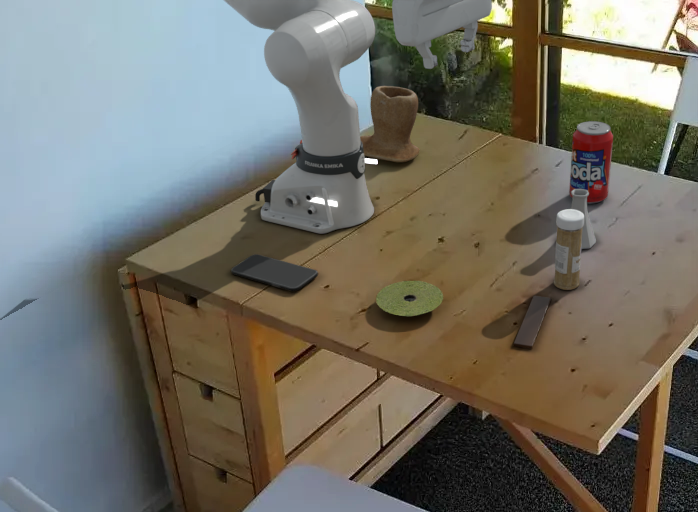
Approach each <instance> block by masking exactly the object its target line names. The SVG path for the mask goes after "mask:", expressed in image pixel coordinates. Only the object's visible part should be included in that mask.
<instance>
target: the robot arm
mask: <svg viewBox="0 0 698 512" xmlns="http://www.w3.org/2000/svg"><path fill="white" fill-rule="evenodd" d="M223 1H224V2H225V3H226V4H227V5H229V7H231V8H232V9H233V10H234V11H235V12H237V13H238V14H239V15H240V16H241V17H242V18H243V19H245V20H246V21H248V22H249V23H250V24H251V25H253V26H255V27H257V28H259V29H263V30H269V31H273V32H272V33H271V34H270V35H269V36H268V37H267V39H266V41H265V43H264V47H263V58H264V62H265V65H266V67H267V69H268V71H269V73H270V75H272V77H273V79H275V80H276V81H277V82H278V83H280V84H281V85H283V86H285V87H286V89H288V90H289V93H290V95H291V96H292V99H293V102H294V104H295V107H296V110H297V114H298V121H299V128H300V129H299V130H300V135H301V139H300V141H299V144H298V145H296V146H295V148H294V150H293V152H291V154H290V155H291V160H294V159H295V160H296V161H295V162H294V163H293V164H291V165H290V166H289V167H288V168H287V169H286V170H284V171H283V172H282V173H280V174H279V176H278V177H277V178H276V179H272V180H270V182H268V183H267V184H266V185H264V187H263V188H261V189H259V190H257V191H256V192H255V197H254V199H255V200H254V201H255V202H261V197H260V196H261V195H263V199H264V204H263V205H262V206H261V209H260V219H261V220H262V221H266V222H269V223H273V224H278V225H282V226H285V227H290V228H294V229H298V230H303V231H307V232H311V233H315V234H321V235H322V234H327V233H331V232H333V231H335V230H340V229H347V228H351V227H355V226H357V225H360V224H362V223H365V222H366V221H368V220H369V219H370V218H372V217H373V215H374V213H375V207H374V204H373V203H372V199H371V196H370V193H369V190H368V186H367V185H368V184H367V180H366V176H365V172H366V164H370V165H378V159H376V158H367V157H366V156H364V149H363V143H362V141H361V140H360V136H361V132H360V131H361V128H360V118H359V107H358V104H357V102H356V100H355V98H354V97H352V96H351V95H349V94H348V93H346V92H345V91H344V88H343V85H342V83H341V78H340V72H341V70H342V69H343V68H345V67H347V66H348V65H350V64H352V63H354V62H356V61H358V60H359V59H360V58H361V57H362V56H363V55H364V54H365V53H366V52H367V51H368V50H369V48H371V46H372V44H373V43H374V41H375V36H376V25H375V21H374V18H373V16H372V14H371V13H370V11H369V9H367V7H365V6H364V5H363V4H362V3H360V2H359V1H356V0H223ZM391 9H392V21H393V29H394V35H395V38H396V40H397V42H398V43H399V44H400V45H401V46H406V47H415V49H416V50H417V51H418V53H419V55H420V57H421V58H422V63H423V68H425V69H426V70H427V69H428V70H431V69H432V70H433V69H434V68H436V67H437V66H439V63H438V57H437V55H435V54H433V52H432V51H431V49H430V48H431V47H432V40H434V39H437V38H440V37H442V36H444V35H447V34H450V33H451V32H454V31H456V30H458V29H461V28H463V29H464V32H463V38H462V39H460V41H459V43H460V50H461V52H463V53H470V52H472V51H475V48H476V46H475V38H476V34H477V31H478V29H479V25H478V21H480V20H482V19H485V18H487V17H489V16H490V15H491V12H492V9H493V2H492V0H392V3H391Z"/></svg>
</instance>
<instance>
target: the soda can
mask: <svg viewBox="0 0 698 512" xmlns="http://www.w3.org/2000/svg"><path fill="white" fill-rule="evenodd" d="M571 143H572V144H571V158H570V172H569V173H570V174H569V190H568V191H569V192H568V193H569V196H570V198H572V197H573V196H572V194H571V192H572V191H573V190H574V189H585V190H588V192H589V195H588V196H587V205H594V204H598V203H600V202H602V201H605V200H606V199H607V198H608V196H609V191H610V178H611V169H612V167H611V166H612V158H613V157H612V156H613V144H614V134H613V133H612V130H611V126H610V125H609V124H608V123H605V122H602V121H595V120H589V121H584V122H580V123H578V124H577V125H576V130H575V131H574V132H573V134H572V142H571Z"/></svg>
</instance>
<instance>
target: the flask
mask: <svg viewBox="0 0 698 512" xmlns="http://www.w3.org/2000/svg"><path fill="white" fill-rule="evenodd" d="M571 194H572V196H573V197H571V198H572V199H571V205H570V209H574V210H578V211H580V212H582V213H583V214H584V226H583V228H582V240H581V244H582V245H581V250H583V249H591V248H592V247H593V246H594V245H595V244H596V242H597V240H596V235H595V233H594V229H593V225H592V223H591V219H590V216H589V212H588V204H587V196H588V195H589V192H588V190H585V189H574V190H573V191H572V192H571Z"/></svg>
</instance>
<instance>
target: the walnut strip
mask: <svg viewBox="0 0 698 512" xmlns="http://www.w3.org/2000/svg"><path fill="white" fill-rule="evenodd" d="M551 301H552V297H548V296H541V295H533V297H532V299H531V301H530V304H529V306H528V309H527V311H526V314H525V316H524V317H523V321H522V323H521V325H520V327H519V330H518V332H517V335H516V337H515V339H514V342H513V347H514V348H515V347H516V348H523V349H529V350H530V349H531V350H533V349H534V348H533V347H534V345H535V342H536V340H537V338H538V335H539V332H540V330H541V327H542V324H543V323H544V320H545V317H546V314H547V312H548V309H549V307H550V305H551Z"/></svg>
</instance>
